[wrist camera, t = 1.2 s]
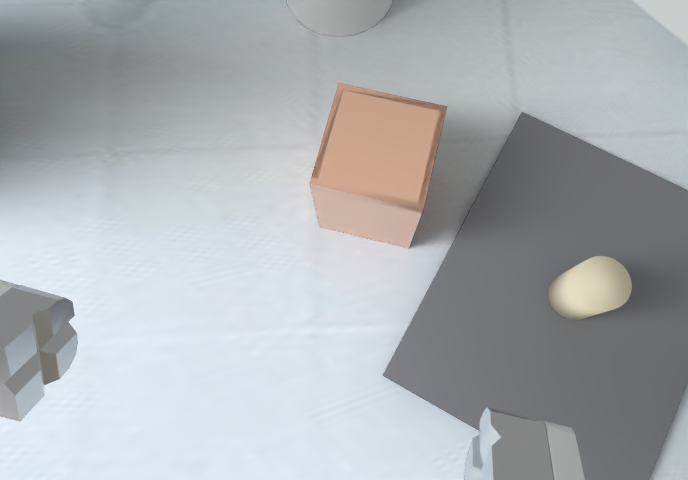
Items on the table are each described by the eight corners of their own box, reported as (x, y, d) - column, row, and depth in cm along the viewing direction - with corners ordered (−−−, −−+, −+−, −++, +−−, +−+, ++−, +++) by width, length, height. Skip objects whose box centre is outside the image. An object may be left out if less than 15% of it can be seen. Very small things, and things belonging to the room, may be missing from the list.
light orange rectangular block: (319, 226, 36) (309, 183, 29) (342, 145, 38) (338, 82, 30) (408, 248, 36) (423, 210, 28) (428, 164, 37) (447, 106, 30)
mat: (382, 375, 34) (386, 373, 29) (520, 114, 38) (543, 76, 33) (630, 516, 32) (678, 539, 27) (747, 222, 36) (806, 197, 31)
